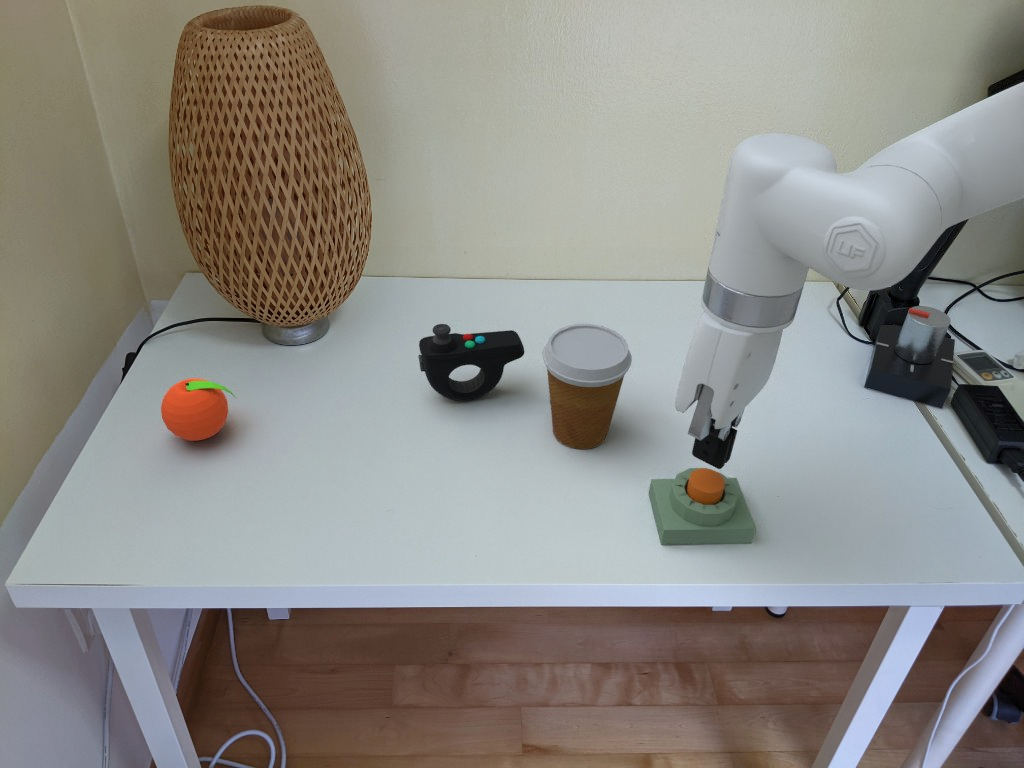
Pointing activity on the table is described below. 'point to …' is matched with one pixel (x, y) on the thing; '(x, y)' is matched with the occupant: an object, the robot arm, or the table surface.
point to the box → (699, 513)
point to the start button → (705, 486)
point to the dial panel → (909, 371)
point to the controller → (467, 360)
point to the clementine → (195, 409)
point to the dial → (922, 334)
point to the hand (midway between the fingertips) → (710, 458)
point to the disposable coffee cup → (584, 381)
